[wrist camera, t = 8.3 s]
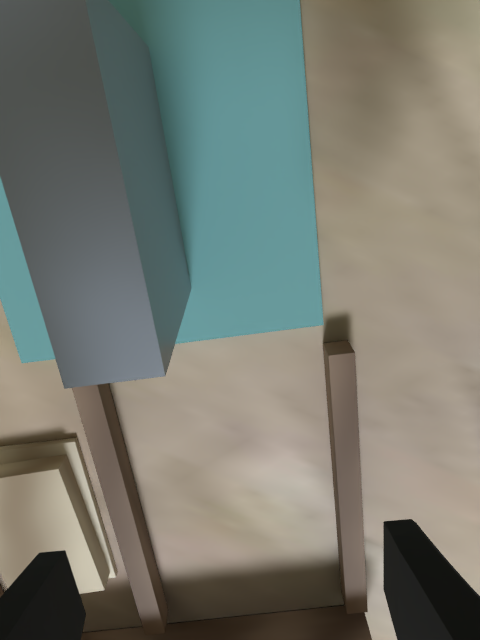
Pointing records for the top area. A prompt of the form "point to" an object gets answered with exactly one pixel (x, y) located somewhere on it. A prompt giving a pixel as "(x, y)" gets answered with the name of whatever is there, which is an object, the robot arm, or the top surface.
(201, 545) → the top surface
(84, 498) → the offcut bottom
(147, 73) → the block
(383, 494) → the top surface
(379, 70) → the top surface
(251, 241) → the mat
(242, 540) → the top surface
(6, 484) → the offcut top
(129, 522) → the rack
